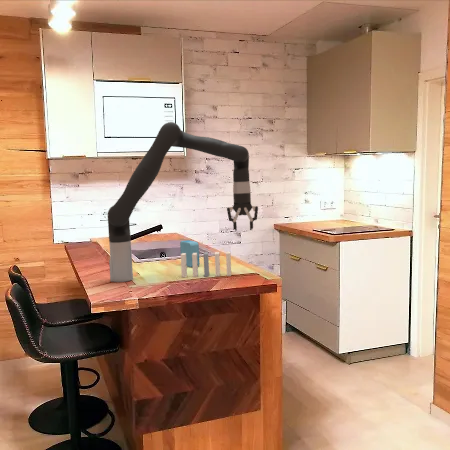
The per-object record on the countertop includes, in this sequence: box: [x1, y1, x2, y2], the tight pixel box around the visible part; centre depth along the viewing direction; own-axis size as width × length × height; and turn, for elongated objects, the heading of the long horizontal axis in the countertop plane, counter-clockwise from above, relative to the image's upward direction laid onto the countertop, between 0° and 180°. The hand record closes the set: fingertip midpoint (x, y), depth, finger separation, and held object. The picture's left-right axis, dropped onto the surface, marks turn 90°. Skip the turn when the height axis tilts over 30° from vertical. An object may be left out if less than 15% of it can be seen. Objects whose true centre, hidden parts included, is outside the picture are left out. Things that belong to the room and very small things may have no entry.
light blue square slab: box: [179, 240, 201, 268], centre depth 251 cm, size 12×4×12 cm, turn 30°
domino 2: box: [192, 253, 199, 278], centre depth 225 cm, size 2×5×10 cm, turn 178°
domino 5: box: [225, 251, 232, 277], centre depth 224 cm, size 2×5×10 cm, turn 178°
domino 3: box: [203, 251, 210, 278], centre depth 225 cm, size 2×5×10 cm, turn 178°
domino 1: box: [180, 253, 188, 278], centre depth 225 cm, size 2×5×10 cm, turn 178°
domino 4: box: [214, 251, 221, 277], centre depth 224 cm, size 2×5×10 cm, turn 178°
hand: (243, 230), depth 222 cm, fingers open, 6 cm apart
